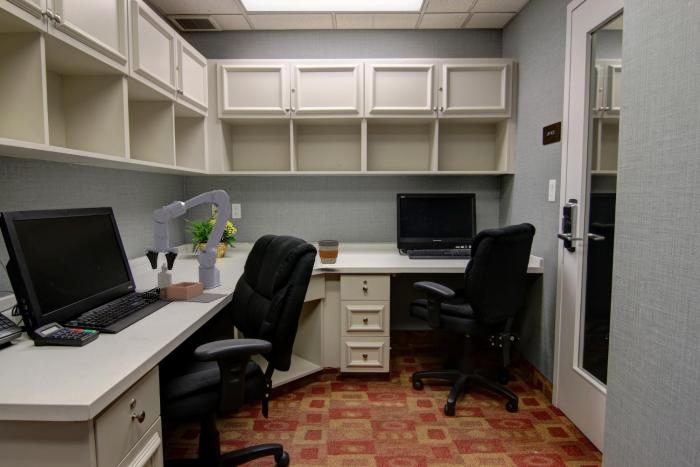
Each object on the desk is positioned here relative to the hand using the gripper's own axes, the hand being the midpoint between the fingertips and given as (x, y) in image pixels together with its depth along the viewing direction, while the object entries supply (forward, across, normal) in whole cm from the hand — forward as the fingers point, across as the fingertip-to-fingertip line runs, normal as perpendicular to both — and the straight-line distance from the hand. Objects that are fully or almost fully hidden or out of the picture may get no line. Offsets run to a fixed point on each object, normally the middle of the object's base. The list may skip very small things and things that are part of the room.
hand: (162, 269), depth 172 cm
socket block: (+9, +15, -6) cm, 19 cm away
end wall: (+9, +10, -6) cm, 15 cm away
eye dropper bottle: (+10, 0, +1) cm, 10 cm away
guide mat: (+9, +18, -6) cm, 21 cm away
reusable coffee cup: (+10, +46, +89) cm, 101 cm away
